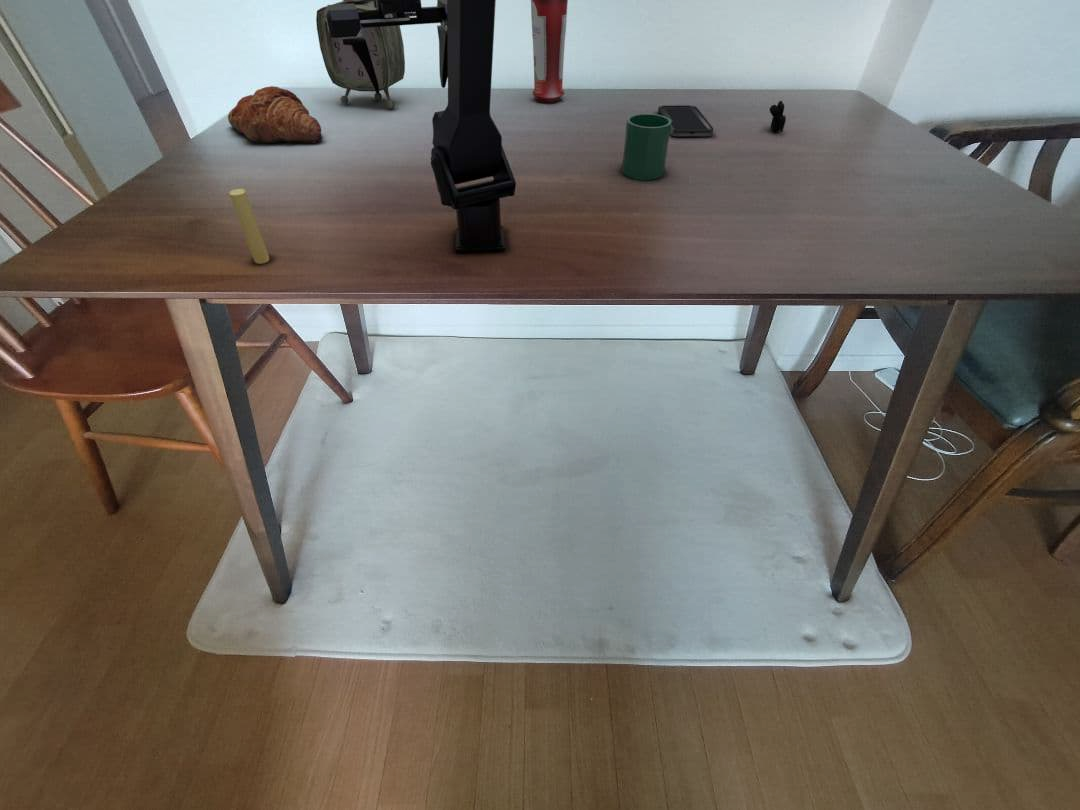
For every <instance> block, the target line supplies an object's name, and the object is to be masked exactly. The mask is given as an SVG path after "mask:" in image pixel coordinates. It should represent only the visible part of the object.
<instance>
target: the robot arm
mask: <svg viewBox="0 0 1080 810" xmlns="http://www.w3.org/2000/svg"><path fill="white" fill-rule="evenodd" d="M361 1H362V2H369V1H373V2H374V7H375V8H376V10H365V11H358V10H357V8H356V6H355V4H335V3H334V4H335V5H332V4H327V5H326V6H327V7H326V6H325V7H326V9H325V16H326V21H327V25H328V30H329V33H330V37H332V38H341V41H342V43H343V45H351V46H352V47H353V49H354V51H355V52H356V54H357V55H358V57H359V59H360V60H361V62H362V64H363V65H364V67H365V69H366V71H367V74H368V76H369V78H370V80H371V82H372V84H373V87H374V89H375V91H376V92H375V93H377V94H379V93H381V91H379V85H378V81H377V77H376V74H375V70H374V67H373V63H372V60H371V56H370V53H369V49H368V46H367V42H366V39H365V37H364V35H363V33H362V28H368V27H384V26H399V25H400V26H414V25H415V26H416V25H427V24H428V25H429V24H438V25H436V29H437V36H438V57H439V59H438V60H439V62H438V63H439V81H440V86H441V88H442V89H445V88H446V85H447V105H446V107H445V109H444V110H439V111H435V112H434V114H433V116H432V120H431V123H432V133H433V134H432V142H431V143H432V145H433V147H432V148H431V151H430V156H431V157H430V166H431V169H432V172H433V176H434V180H435V183H436V188H437V191H438V193H439V198H440V204H441V205H442V206H444V207H450V208H451V209H452V210H453V211H454V210H455V213H456V223H457V227H456V228H455V245H454V246H455V247H454V248H455V252H456V253H484V252H504V251H505V250H506V241H505V227H504V226H503V225H502V221H501V200H500V199H502V198H507V197H514V196H515V192H516V187H517V181H516V179H515V176H514V174H513V171H512V168H511V165H510V162H509V161H508V158H507V154H506V153H505V152H506V151H505V150H504V147H503V137H502V135H501V132H500V130H499V129H498V127H497V125H496V123H495V121H494V120H493V118H492V116H491V97H492V96H491V95H492V77H493V62H494V61H493V59H494V58H493V57H494V38H495V20H496V3H497V2H496V1H497V0H436V1H437V2H436V6H422V0H361ZM393 13H396V14H393ZM387 14H391V17H392V18H391V17H389V18H385V15H387ZM439 24H440V25H439ZM488 178H492V179H491V180H485V181H481V182H477V183H472V184H466V185H463V186H459V187H457V186H456V185H460V184H465V183H469V182H473V181H478V180H482V179H488Z"/></svg>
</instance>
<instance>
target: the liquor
mask: <svg viewBox="0 0 1080 810" xmlns="http://www.w3.org/2000/svg"><path fill="white" fill-rule="evenodd" d="M568 1H569V0H530V14H531V15H530V16H531V17H530V18H531V35H532V51H533V52H532V53H533V55H532V56H533V84H534V85H533V87H534V88H533V90H532V93H531V94H532V95H533V96H534V97H535V99H537V101H538V102H540V103H547V104H549V103H556V102H558V101H560V100H561V98H562V97H563V96H564V94H565V91H564V89H563V82H564V81H563V80H564V63H565V62H564V60H565V43H566V33H567V22H568V21H567V18H568Z"/></svg>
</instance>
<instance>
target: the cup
mask: <svg viewBox="0 0 1080 810" xmlns="http://www.w3.org/2000/svg"><path fill="white" fill-rule="evenodd" d="M625 127H626V128H625V134H624V135H625V136H624V146H623V155H622V156H623V158H622V165H621V166H622V169H621V171H622V174H623V175H624V176H626V177H628V178H631V179H634V180H638V181H652V180H657V179H659V178H662V176H663V175H664V173H665V168H666V161H667V155H668V150H669V149H668V148H669V142H670V141H669V140H670V135H671V134H670V129H671V120H670V119H669V118H667V117H665V116H661V115H659V114H658V113H637V114H633V115H630V116H628V118H627V119H626V125H625Z"/></svg>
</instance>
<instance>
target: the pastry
mask: <svg viewBox="0 0 1080 810" xmlns="http://www.w3.org/2000/svg"><path fill="white" fill-rule="evenodd" d="M227 121H228V123H229V124H230V126H231V127H232V128H233V129H235V130H236V131H237V132H239V133H240V134H241V135H244V136H245V137H246V138H247V139H248V140H250V141H251V142H253V143H257V144H258V143H259V144H267V143H268V144H271V143H272V144H273V143H278V142H279V143H280V142H288V143H308V144H310V143H311V144H312V143H317V142H321V141H322V140H323V136H322V127H321V124H320V122H319V121H318V120H317V119H316V118H315V117H313V116H311V115H310V112H309V110H308V109H307V108H306V106H305V105H304V104H303V102H302V100H301V99H300V98H299V97H298V96H297V95H296V94H295V93H294V92H292V91H291V90H288V89H285V88H281V87H278V86H274V85H272V86H265V87H262V88H260V89H256V90H255V92H254V93H253V94H249V95H246V96H243V97H241V98H240V99H239V100H238V102H237V103H236V105H235V106H234V107H233V108H232V109H231V110H230V111H229V112H228V114H227Z"/></svg>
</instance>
